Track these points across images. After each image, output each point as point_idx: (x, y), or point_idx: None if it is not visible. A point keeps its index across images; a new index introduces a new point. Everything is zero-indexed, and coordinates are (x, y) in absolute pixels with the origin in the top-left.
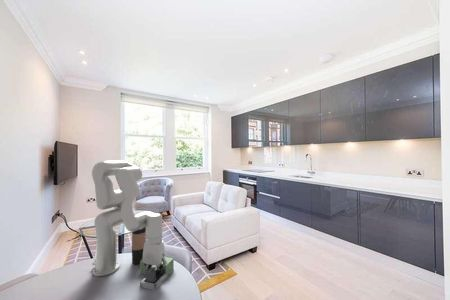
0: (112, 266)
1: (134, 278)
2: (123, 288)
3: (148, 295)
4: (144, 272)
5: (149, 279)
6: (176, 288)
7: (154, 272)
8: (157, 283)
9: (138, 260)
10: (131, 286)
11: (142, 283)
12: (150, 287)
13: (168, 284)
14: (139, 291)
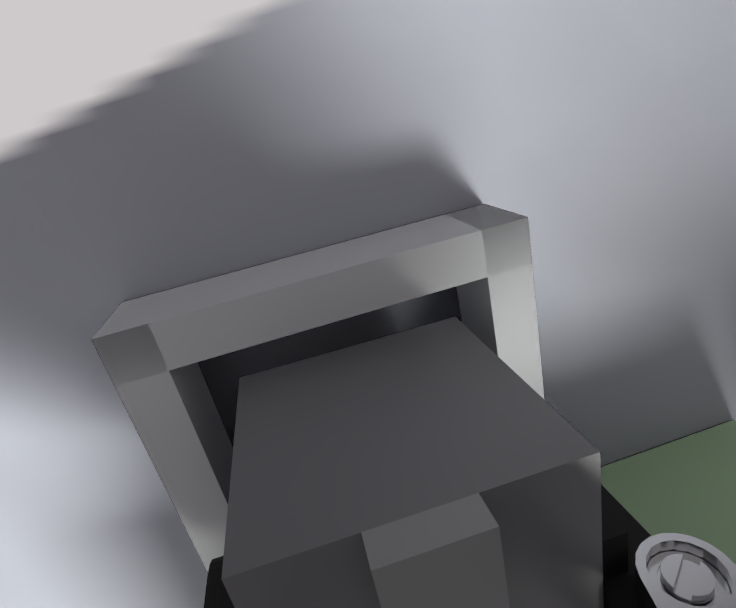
0: None
1: (724, 293)
2: (732, 7)
3: (77, 111)
4: (671, 455)
5: (356, 370)
6: None
7: (245, 599)
8: (133, 412)
9: None
10: (632, 127)
11: (451, 233)
12: (237, 279)
13: (44, 524)
14: (376, 104)
